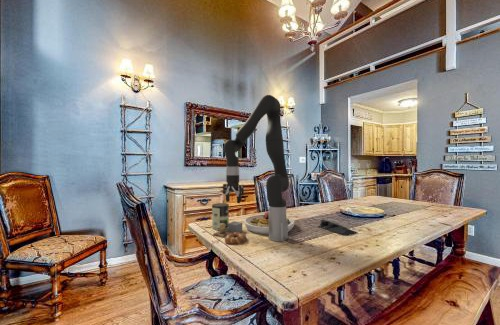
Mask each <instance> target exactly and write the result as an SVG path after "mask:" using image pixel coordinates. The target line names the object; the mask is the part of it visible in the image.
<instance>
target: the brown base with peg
mask: <svg viewBox="0 0 500 325" xmlns="http://www.w3.org/2000/svg"><path fill="white" fill-rule="evenodd" d="M230 233H231V232H228V230H227V231H226V229H225V223H220V230H217V231H216V232H214V233H213V234H212V235H213V236H214V237H219V238H224V239H225V237H226V236H227V235H228V234H230Z"/></svg>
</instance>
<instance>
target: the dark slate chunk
mask: <svg viewBox="0 0 500 325" xmlns="http://www.w3.org/2000/svg"><path fill="white" fill-rule="evenodd" d="M316 227H317V228H318V229H319V228H320V229H322V230H325V231H328V232H331V233H334V234H337V235H341V236H351V235H356V234H358V233H359V231H355V230H352V229H349V228H348V227H345V226H344V225H341V224H338V223H336V222H332V221H328V220H325V219H321V221H320V224H319V225H318V226H316Z"/></svg>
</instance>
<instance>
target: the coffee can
mask: <svg viewBox="0 0 500 325" xmlns="http://www.w3.org/2000/svg"><path fill="white" fill-rule="evenodd" d="M229 207H230V204H229V203H220V202H219V203H213V204H211V216H212V219H211V222H212V224H211V226H212V229H213V230H215V231H216V230H217V231H220V223H225V230H227V229H228V224H229V223H230V220H229V219H230V217H229V216H230V215H229V213H230V212H229Z"/></svg>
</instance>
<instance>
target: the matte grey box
mask: <svg viewBox="0 0 500 325" xmlns="http://www.w3.org/2000/svg"><path fill="white" fill-rule="evenodd" d="M227 232H231V233H234V232H240V233H242V232H243V222H241V221H240V222H239V221H232V222H229V224H228V230H227Z"/></svg>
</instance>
